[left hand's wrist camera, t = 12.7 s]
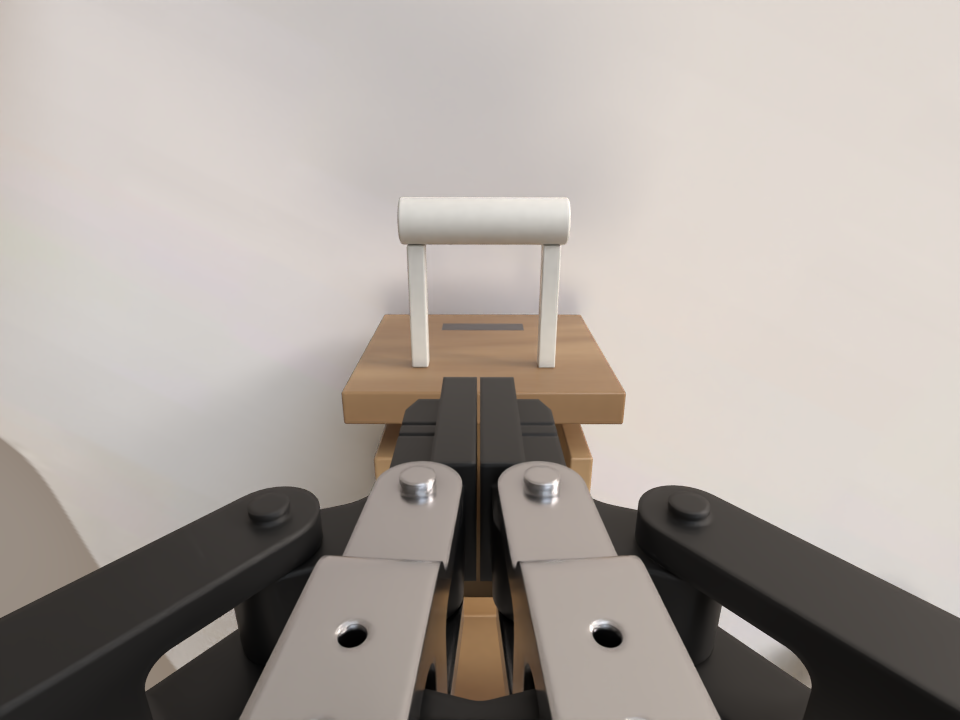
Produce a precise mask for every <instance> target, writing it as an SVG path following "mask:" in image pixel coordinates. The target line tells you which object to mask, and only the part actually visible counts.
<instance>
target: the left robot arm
mask: <svg viewBox="0 0 960 720" xmlns="http://www.w3.org/2000/svg"><path fill="white" fill-rule="evenodd" d="M476 547H477V377H443V383H442V389H441V396H440V399H418V400H417V401H416V402H414V403H413V404H412V405H411V406H410V407H408V408H407V409H406V410H405V414H404V417H403V421H402V425H401V428H400V432H399V436H398V439H397V443H396V446H395V450H394V453H393V457H392V461H391V464H390V468H389V469H388V470H386V471H385V472H383V473H382V474H381V475H380V476H379V477H378V478H377V480H376V481H375V483H374V485H373V488H372V490H371V492H370V494H369V496H367V497H365V498H363V499H361V500H358V501H355V502H353V503H349V504H345V505H341V506H336V507H331V508H326V509H321V510H320V506H319V501H318V499H317V498H316V496H315V495H314V494H312V493H311V492H309V491H307V490H305V489H301V488H297V487H273V488H267V489H263V490H259V491H256V492H253V493H251V494H248V495H246V496H244V497H242V498H240V499H238V500H236V501H234V502H232V503H230V504H228V505H226V506H224V507H222V508H220V509H218V510H216V511H214V512H212V513H210V514H208V515H206V516H204V517H202V518H200V519H198V520H196V521H194V522H192V523H190V524H188V525H186V526H184V527H182V528H180V529H178V530H176V531H174V532H172V533H170V534H168V535H166V536H164V537H162V538H160V539H158V540H156V541H154V542H152V543H150V544H148V545H146V546H144V547H142V548H140V549H138V550H136V551H134V552H132V553H130V554H128V555H126V556H124V557H122V558H120V559H118V560H116V561H114V562H112V563H110V564H108V565H106V566H104V567H102V568H100V569H98V570H96V571H94V572H92V573H90V574H88V575H86V576H84V577H82V578H80V579H78V580H76V581H74V582H72V583H70V584H68V585H66V586H64V587H62V588H60V589H58V590H56V591H54V592H52V593H50V594H48V595H46V596H44V597H42V598H40V599H38V600H36V601H34V602H32V603H30V604H28V605H26V606H24V607H22V608H20V609H18V610H16V611H14V612H12V613H10V614H8V615H6V616H4V617H2V618H0V720H960V618H958V617H956V616H954V615H952V614H950V613H948V612H946V611H944V610H942V609H940V608H938V607H936V606H934V605H932V604H930V603H928V602H926V601H924V600H922V599H920V598H918V597H916V596H914V595H912V594H910V593H908V592H906V591H904V590H902V589H900V588H898V587H896V586H894V585H892V584H890V583H888V582H886V581H884V580H882V579H880V578H878V577H876V576H874V575H872V574H870V573H868V572H866V571H864V570H862V569H860V568H858V567H856V566H854V565H852V564H850V563H848V562H846V561H844V560H842V559H840V558H838V557H836V556H834V555H832V554H830V553H828V552H826V551H824V550H822V549H820V548H818V547H816V546H814V545H812V544H810V543H808V542H806V541H804V540H802V539H800V538H798V537H796V536H794V535H792V534H790V533H788V532H786V531H784V530H782V529H780V528H778V527H776V526H774V525H772V524H770V523H768V522H766V521H764V520H762V519H760V518H758V517H756V516H754V515H752V514H750V513H748V512H746V511H744V510H742V509H740V508H738V507H736V506H734V505H732V504H730V503H728V502H726V501H724V500H722V499H720V498H718V497H716V496H714V495H712V494H710V493H708V492H705V491H702V490H699V489H695V488H691V487H685V486H675V485H671V486H660V487H656V488H653V489H651V490H649V491H647V492H646V493H644V494H643V495H642V496H641V498H640V500H639V503H638V510H634V509H629V508H624V507H619V506H614V505H610V504H606V503H603V502H600V501H597V500H595V499H593V498H592V497H591V494H590V492H589V490H588V488H587V485H586V483H585V481H584V480H583V478H582V477H581V476H580V475H579V474H578V473H577V472H575V471H574V470H572V469H570V468H568V467H566V463H565V459H564V456H563V452H562V448H561V444H560V441H559V437H558V433H557V429H556V426H555V422H554V418H553V414H552V410H551V409H550V408H548V407H547V406H546V405H545V404H544V403H543V402H541V401H540V400H539V399H517V397H516V390H515V383H514V377H480V581H492V596H493V601H494V603H495V605H496V625H497V632H498V640H499V648H500V656H501V664H502V671H503V679H504V687H505V695H506V696H503V697H499V698H495V699H491V700H485V701H475V700H469V699H465V698H461V697H457V696H454V695H455V687H456V679H457V671H458V664H459V656H460V648H461V640H462V632H463V625H464V581H476ZM722 606H724V607H725V608H727V609H728V610H730V611H732V612H733V613H735V614H736V615H738V616H739V617H741V618H742V619H744V620H745V621H747V622H749V623H750V624H752V625H753V626H755V627H756V628H758V629H759V630H761V631H762V632H764V633H766V634H767V635H769V636H770V637H772V638H773V639H775V640H776V641H778V642H779V643H781V644H783V645H784V646H786V647H787V648H788V649H790V650H791V651H792V652H793V653H794V654H795V655H796V656H797V657H798V658H799V659H800V660H801V661H802V663H803V664H804V665H805V667H806V669H807V670H808V673H809V675H810V678H811V683H812V688H811V689H810V688H808V687H807V686H805V685H804V684H802V683H801V682H799V681H798V680H796V679H795V678H793V677H792V676H790V675H789V674H787V673H786V672H785V671H783V670H782V669H780V668H779V667H777V666H776V665H774V664H773V663H771V662H770V661H768V660H767V659H765V658H764V657H762V656H761V655H760V654H758V653H757V652H755V651H754V650H752V649H751V648H749V647H748V646H746V645H745V644H743V643H742V642H740V641H739V640H738V639H736V638H735V637H733V636H732V635H730V634H729V633H727V632H726V631H724V630H723V629H721V628H720V627H718V622H719V617H720V612H721V607H722ZM233 608H234V609H235V614H236V619H237V624H238V629H237V630H236V631H234V632H233V633H231V634H230V635H228V636H227V637H225V638H224V639H222V640H221V641H220V642H218V643H217V644H215V645H214V646H212V647H211V648H209V649H208V650H206V651H205V652H203V653H202V654H200V655H199V656H197V657H196V658H195V659H193V660H192V661H190V662H189V663H187V664H186V665H184V666H183V667H181V668H180V669H178V670H177V671H176V672H174V673H173V674H171V675H170V676H168V677H167V678H165V679H164V680H162V681H161V682H159V683H158V684H156V685H155V686H153V687H152V688H150V689H149V690H147V691H146V692H145V682H146V679H147V676H148V674H149V672H150V670H151V668H152V667H153V666H154V664H155V663H156V662H157V661H158V659H159V658H160V657H161V656H162V655H164V654H165V653H166V652H167V651H169V650H170V649H171V648H173V647H174V646H176V645H177V644H179V643H181V642H182V641H184V640H185V639H187V638H188V637H190V636H191V635H193V634H194V633H196V632H198V631H199V630H201V629H202V628H204V627H205V626H207V625H208V624H210V623H211V622H213V621H215V620H216V619H218V618H219V617H221V616H222V615H224V614H225V613H227V612H228V611H230V610H232V609H233Z"/></svg>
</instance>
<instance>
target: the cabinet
mask: <svg viewBox="0 0 960 720" xmlns="http://www.w3.org/2000/svg"><path fill="white" fill-rule="evenodd" d="M454 696H457V697H461V698H465V699H469V700H475V701H485V700H491V699H495V698H499V697H503V696H506V695H505V687H504V679H503V671H502V664H501V656H500V648H499V640H498V632H497V625H496V605H495V603H494V601H493V597H464V625H463V632H462V640H461V648H460V656H459V664H458V671H457V679H456V687H455V695H454Z"/></svg>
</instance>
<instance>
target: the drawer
mask: <svg viewBox="0 0 960 720" xmlns="http://www.w3.org/2000/svg"><path fill="white" fill-rule="evenodd" d="M570 220H571V212H570V202H569V199H568V198H566V197H401V198H400V199H399V202H398V233H399V239H400V242H401V244H408V246H407V264H408V287H409V309H410V315H384V317H383V319H382V320H381V322H380V324H379V326H378V328H377V329H376V331H375V333H374V335H373V337H372V339H371V340H370V342H369V344H368V346H367V348H366V349H365V351H364V353H363V355H362V357H361V359H360V360H359V362H358V364H357V366H356V368H355V369H354V371H353V373H352V375H351V377H350V378H349V380H348V382H347V384H346V386H345V388H344V389H343V391H342V404H343V414H344V422H345V423H346V424H386V425H385V428H384V431H383V434H382V437H381V440H380V443H379V446H378V449H377V452H376V455H375V458H374V466H375V479H376V480H377V478H378V477H379V476H380V475H381V474H382V473H383V472H385V471H386V470H388V469H389V468H390V464H391V461H392V457H393V453H394V450H395V446H396V443H397V439H398V436H399V432H400V428H401V425H402V421H403V417H404V414H405V410H406V409H407V408H408V407H410V406H411V405H412V404H413V403H414V402H416V401H417V400H418V399H440V396H441V389H442V383H443V377H477V547H476V581H464V597H493V596H492V581H480V377H514V383H515V390H516V397H517V399H539V400H540V401H541V402H543V403H544V404H545V405H546V406H547V407H548V408H550V409H551V410H552V414H553V418H554V422H555V426H556V429H557V433H558V437H559V441H560V444H561V448H562V452H563V456H564V459H565V463H566V467H568V468H570V469H572V470H574V471H575V472H577V473H578V474H579V475H580V476H581V477H582V478H583V480H584V481H585V483H586V485H587V488H588V490H589V492H590V486H591V474H592V462H593V458H592V456H591V453H590V450H589V447H588V444H587V442H586V439H585V436H584V433H583V430H582V427H581V425H580V424H622V423H623V416H624V407H625V397H626V393H625V391H624V389H623V388H622V386H621V384H620V382H619V381H618V379H617V377H616V375H615V374H614V372H613V370H612V369H611V367H610V365H609V363H608V362H607V360H606V358H605V356H604V355H603V353H602V351H601V350H600V348H599V346H598V344H597V343H596V341H595V339H594V338H593V336H592V334H591V332H590V331H589V329H588V327H587V325H586V324H585V322H584V320H583V319H582V317H581V315H557V314H558V295H559V276H560V257H561V246H560V245H565V244H566V243H567V241H568V238H569V233H570ZM425 244H493V245H542V250H541V274H540V299H539V315H428V299H427V268H426V245H425Z"/></svg>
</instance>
